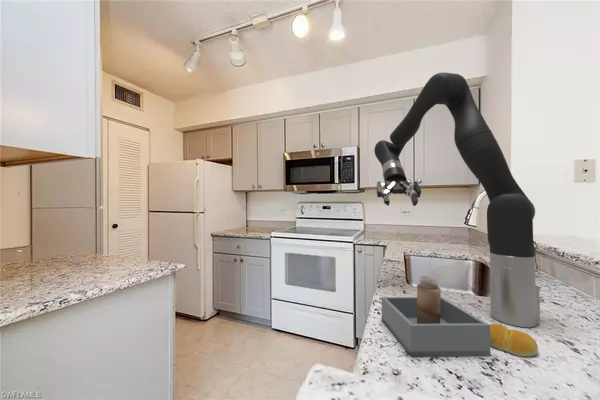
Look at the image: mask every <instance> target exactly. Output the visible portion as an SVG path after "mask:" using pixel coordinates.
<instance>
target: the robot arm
mask: <svg viewBox="0 0 600 400" xmlns="http://www.w3.org/2000/svg"><path fill="white" fill-rule="evenodd" d="M436 105H444V106H446V107H447V110H449V112H450V114H451V116H452V118H453V122H454V134H453V135H454V137H453V139H454V144H455V146H456V148H457V151H458V152H459V155H460V157H461V158H462V160H463V162H464V163H465V165H466V167H467V168H468V169H469V170H470V171H471V173H472V174H473V175H474V176H475V178H476V179H477V180H478V181H479V183H480V184H481V185H482V188H483V189H484V191H485V193H486V195H487V198H488V201H489V204H488V205H487V208H486V226H487V227H486V229H487V231H486V232H487V242H488V245H489V246H488V247H489V273H490V274H489V277H490V279H489V281H490V285H489V287H490V288H489V290H490V292H489V293H490V317H492V318H493V319H494V320H496V321H499V322H500V323H503V324H506V325H510V326H515V327H521V328H533V327H536V326H537V325H541V307H540V306H541V303H540V302H541V301H540V286H538V285H537V284H536V247H535V243H534V223H533V221H534V219H535V218H534V217H535V216H536V208H535V206H534V203H533V201H531V200H530V199H529V198H528V197H527V195H526V194H525V192H524V191H523V189H522V188H521V187H520V186H519V184H518V182H517V181H516V179H515V178H514V176H513V174H512V172H511V170H510V167H509V165H508V162H507V159H506V157H505V155H504V153H503V151H502V149H501V147H500V144H499V143H498V141H497V139H496V138H495V137H496V136H494V134H493V132H492V130H491V128H490V127H489V125H488V124H487V123H486V121H485V118H484V117H483V115H482V112H480V109H479V108H478V107H477V103H476V102H475V99H474V97H473V94H472V92H471V89H470V86H469V84H468V82H467V80H466V79H465V77H464V76H462V75H461V74H458V73H453V72H451V73H450V72H438V73H435V74H433V75H432V76H431V77H430V78H429V79H428V81H427V82H426V83H425V85H424V86H423V88H422V89H421V91H420V93H419V94H418V95H417V98H416V99H415V101H414V102H413V104H412V106H411V107H410V109H409V110H408V112H407V113H406V115H405V116H404V117H403V119H402V121H400V123H399V124H398V125H397V126H396V127H395V129H394V130H393V131H392V132H391V133H390V135H389V141H390V142H389V141H388V140H383V139H382V140H380V141H378V142H377V143H375V146H374V150H373V151H374V156H375V158H376V159H377V160H378V162H379V163H380V164H381V168H382V178H383V180H384V183H382V182H381V181H377V182H376V197H377V198H382V199H383V203H384V205H386V206H387V207H388V206H390V196H391V194H393V195H397V194H399V195H404V196H406V197H408V198H410V200H411V204H412V206H413V207H416V205H418V202H419V199H418V198H420V197H421V194H422V193H423V192H422V190H421V187H420V185H419V183H418V181H415V180H414V181H413V183H410V182H408V179H407V176H406V173H405V170H404V167H403V165H402V164H401V163H402V162H401V160H400V155H401V153H402V151H403V149H404V147H405V146H406V144H407V143H409V141H410V140H411V139H412V138H413V137H414V136H415V135H416V133H417V132H418V130H420V127H421V123H422V120H423V118H424V116H425V115H426V114H427V113H428V112H429V111H430V110H431V109H432V108H433V107H435V106H436ZM383 188H384V189H385V190H384V191H382V189H383Z"/></svg>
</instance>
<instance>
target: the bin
mask: <svg viewBox="0 0 600 400" xmlns="http://www.w3.org/2000/svg"><path fill="white" fill-rule="evenodd" d="M381 322H382V323H383V324H384V325H385V326H386V328H387V329H388V330H389V331H390V333H391V334H392V335H393V336H394V338H396V340H397V341H398V343H399V344H400V345H401V347H402V348H403V349H404V350H405V351H406V353H407V354H408V355H409V356H410V357H411V358H414V357H415V358H418V357H419V358H420V357H421V358H424V357H425V358H426V357H429V358H431V357H435V358H436V357H490V356H491V346H490V324H489V323H487V322H485V321H484V320H482V319H480V318H479V317H477V316H476V315H474V314H472V313H470V312H469V311H467V310H465V309H464V308H461V307H460V306H458V305H456V304H454V303H453V302H452V301H449V300H448V299H446V298H444V297H442V296H441V302H440V324H417V296H381Z"/></svg>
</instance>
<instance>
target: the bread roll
mask: <svg viewBox="0 0 600 400" xmlns="http://www.w3.org/2000/svg"><path fill="white" fill-rule="evenodd" d="M489 325H490V347H491V348H495V349H497V350H500V351H502V352H507V353H509V354H511V355H513V356H518V357H524V358H525V357H533V356H536V355H538V353H539V345H538V342H537V341H536V339H534V338H533V337H532V336H531V335H530V334H528V333H526V332H523V331H520V330H516V329H509V328H507V327H506V326H504V325H501V324H499V323H490V324H489Z"/></svg>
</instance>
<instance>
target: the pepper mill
mask: <svg viewBox="0 0 600 400" xmlns="http://www.w3.org/2000/svg"><path fill="white" fill-rule="evenodd" d="M438 280H439V279H438V278H437V277H434V276H428V275H422V276H419V283H418V284H417V285H416V297H417V324H440V302H441V297H442V295H441V287H440V286H438V285H439V283H438Z"/></svg>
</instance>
